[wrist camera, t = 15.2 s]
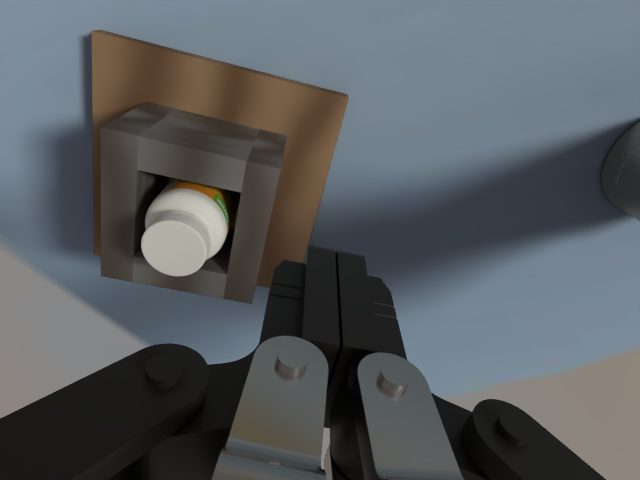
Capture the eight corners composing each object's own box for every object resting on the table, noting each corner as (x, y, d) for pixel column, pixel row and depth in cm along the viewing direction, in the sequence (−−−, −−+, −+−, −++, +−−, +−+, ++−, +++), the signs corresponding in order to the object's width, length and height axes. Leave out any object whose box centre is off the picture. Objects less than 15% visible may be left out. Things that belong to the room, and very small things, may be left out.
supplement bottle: (254, 192, 34) (236, 252, 26) (211, 231, 36) (180, 300, 27) (204, 143, 32) (166, 192, 24) (160, 187, 34) (110, 247, 25)
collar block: (346, 94, 33) (359, 122, 25) (295, 283, 42) (292, 350, 34) (100, 30, 31) (23, 37, 22) (101, 246, 40) (46, 308, 31)
